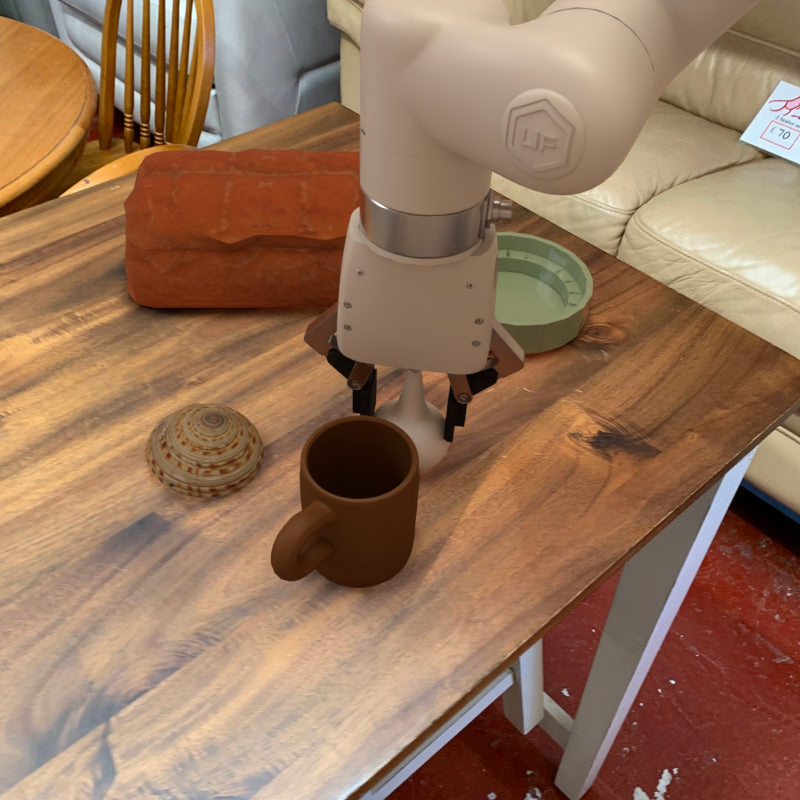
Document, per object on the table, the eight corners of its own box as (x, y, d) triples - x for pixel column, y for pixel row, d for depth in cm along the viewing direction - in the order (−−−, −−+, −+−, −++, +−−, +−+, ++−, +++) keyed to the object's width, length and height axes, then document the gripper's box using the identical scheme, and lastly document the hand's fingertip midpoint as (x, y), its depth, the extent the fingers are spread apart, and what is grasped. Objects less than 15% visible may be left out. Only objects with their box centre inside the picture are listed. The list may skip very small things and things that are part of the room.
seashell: (181, 382, 66) (256, 384, 61) (212, 437, 69) (286, 443, 64) (111, 449, 60) (188, 457, 56) (147, 506, 63) (223, 517, 59)
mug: (330, 664, 51) (326, 578, 45) (238, 602, 54) (222, 512, 48) (434, 536, 59) (444, 446, 52) (348, 487, 61) (347, 396, 55)
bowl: (562, 261, 84) (569, 229, 81) (603, 354, 74) (613, 320, 71) (423, 267, 82) (425, 234, 79) (446, 362, 72) (449, 328, 69)
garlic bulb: (363, 478, 61) (363, 401, 56) (368, 418, 66) (369, 340, 60) (448, 483, 61) (457, 406, 56) (447, 422, 66) (456, 345, 60)
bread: (147, 224, 85) (127, 127, 78) (405, 224, 87) (410, 129, 80) (120, 319, 74) (94, 216, 67) (416, 316, 76) (423, 216, 69)
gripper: (568, 193, 51) (526, 403, 64) (295, 163, 52) (306, 375, 65) (569, 262, 46) (522, 476, 58) (264, 227, 47) (283, 445, 59)
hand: (408, 421), depth 61 cm, fingers closed on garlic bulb, 5 cm apart
